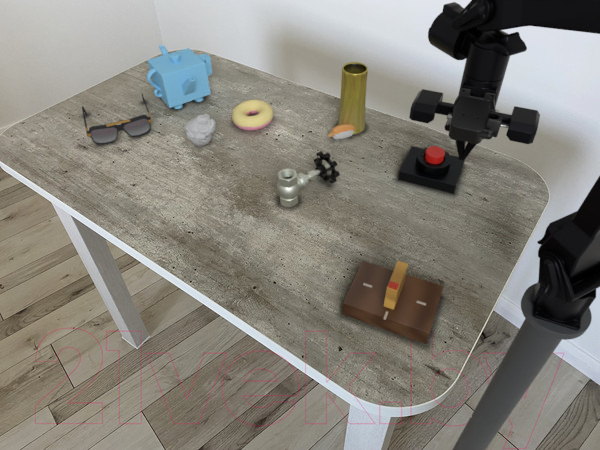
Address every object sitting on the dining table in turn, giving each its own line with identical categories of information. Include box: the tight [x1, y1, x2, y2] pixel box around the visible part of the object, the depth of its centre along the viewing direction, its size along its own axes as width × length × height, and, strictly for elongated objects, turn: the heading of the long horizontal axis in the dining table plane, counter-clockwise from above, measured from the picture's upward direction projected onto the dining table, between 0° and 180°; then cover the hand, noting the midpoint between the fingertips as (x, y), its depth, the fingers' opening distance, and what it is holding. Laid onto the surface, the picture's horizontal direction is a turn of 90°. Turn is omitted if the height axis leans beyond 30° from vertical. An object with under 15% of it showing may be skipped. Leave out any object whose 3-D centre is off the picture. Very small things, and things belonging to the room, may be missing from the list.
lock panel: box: [341, 260, 444, 345], centre depth 74 cm, size 13×10×3 cm
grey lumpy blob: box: [183, 113, 217, 147], centre depth 103 cm, size 6×7×7 cm
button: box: [425, 145, 446, 164], centre depth 94 cm, size 4×4×2 cm
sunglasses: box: [81, 93, 153, 145], centre depth 110 cm, size 14×15×5 cm
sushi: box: [327, 124, 355, 140], centre depth 105 cm, size 3×6×3 cm, turn 111°
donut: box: [231, 99, 274, 132], centre depth 110 cm, size 10×5×9 cm
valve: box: [276, 150, 341, 208], centre depth 91 cm, size 7×7×12 cm
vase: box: [337, 61, 369, 135], centre depth 104 cm, size 6×6×14 cm
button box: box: [397, 145, 466, 195], centre depth 95 cm, size 11×9×4 cm
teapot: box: [146, 44, 213, 110], centre depth 115 cm, size 16×18×11 cm
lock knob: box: [384, 260, 409, 310], centre depth 71 cm, size 6×2×5 cm, turn 156°
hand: (461, 159), depth 81 cm, fingers closed
